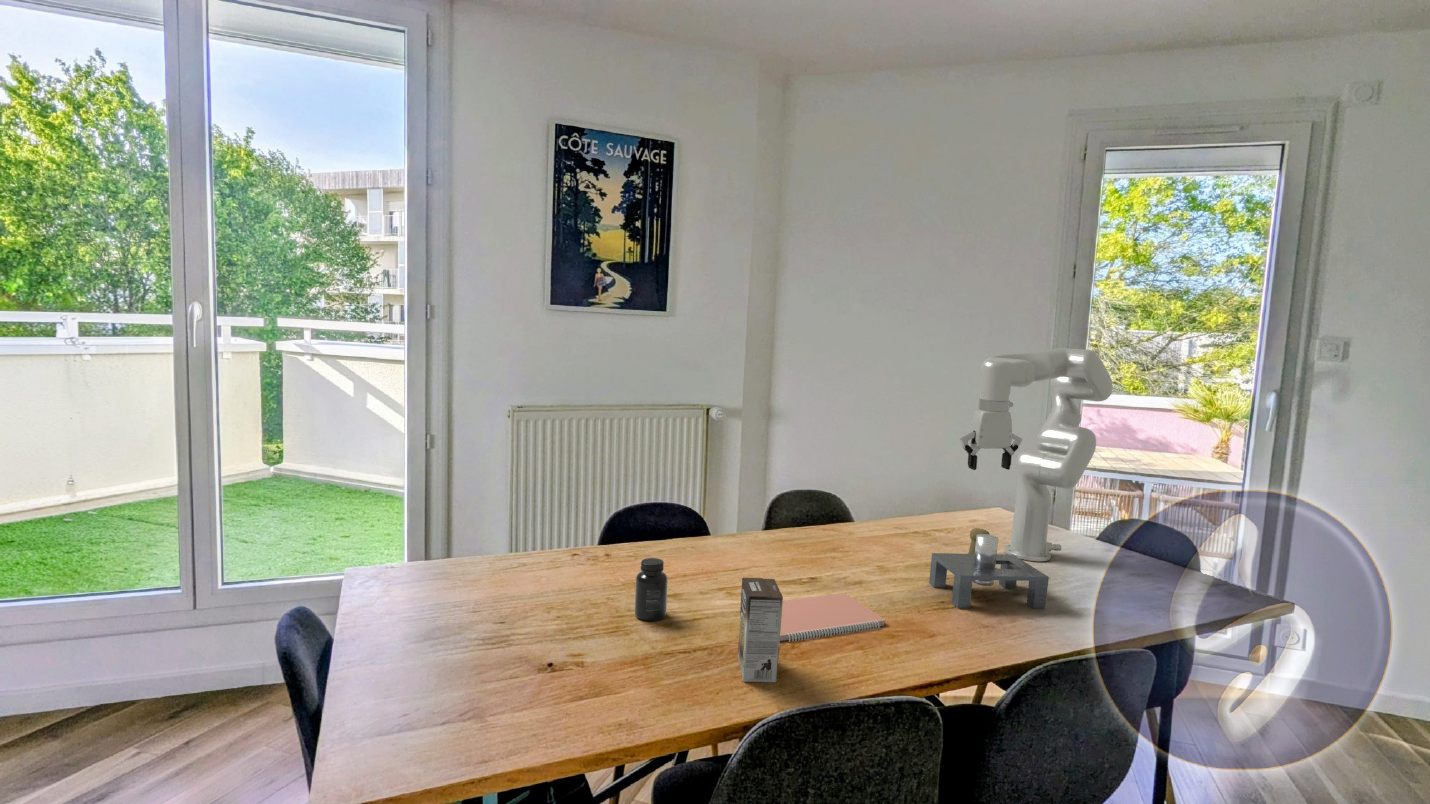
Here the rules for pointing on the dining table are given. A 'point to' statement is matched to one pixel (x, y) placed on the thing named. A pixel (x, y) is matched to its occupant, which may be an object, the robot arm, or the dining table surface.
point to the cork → (973, 538)
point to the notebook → (825, 617)
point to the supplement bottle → (651, 590)
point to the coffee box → (759, 629)
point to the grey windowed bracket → (987, 577)
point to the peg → (985, 554)
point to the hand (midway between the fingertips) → (988, 468)
